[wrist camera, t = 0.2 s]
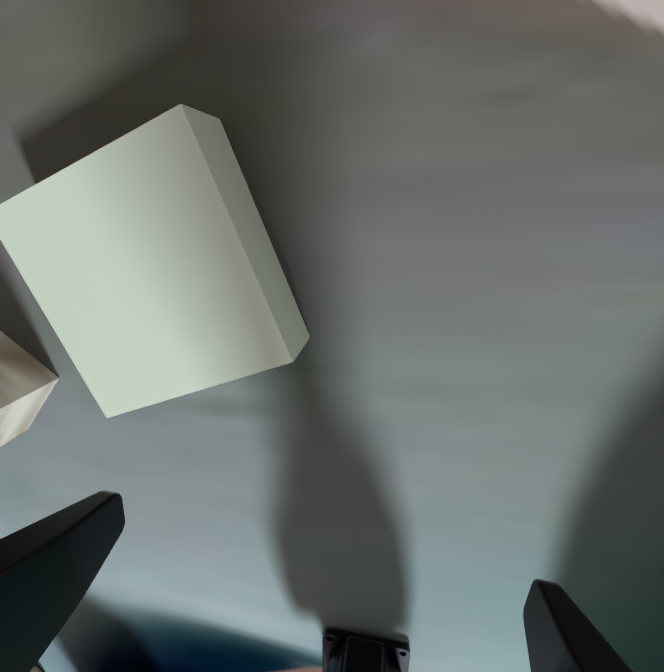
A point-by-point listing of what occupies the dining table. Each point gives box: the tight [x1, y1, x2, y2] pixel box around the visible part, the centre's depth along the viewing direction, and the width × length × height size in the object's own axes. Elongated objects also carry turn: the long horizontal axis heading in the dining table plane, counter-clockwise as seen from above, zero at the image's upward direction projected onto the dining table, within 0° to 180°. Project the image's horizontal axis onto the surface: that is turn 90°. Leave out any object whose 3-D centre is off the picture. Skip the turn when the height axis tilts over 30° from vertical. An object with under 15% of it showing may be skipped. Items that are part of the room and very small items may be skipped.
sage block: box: [0, 104, 310, 418], centre depth 21 cm, size 12×12×4 cm
